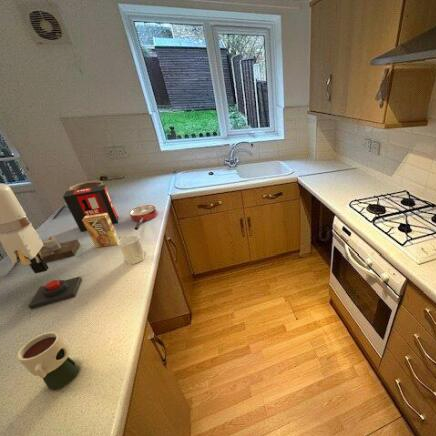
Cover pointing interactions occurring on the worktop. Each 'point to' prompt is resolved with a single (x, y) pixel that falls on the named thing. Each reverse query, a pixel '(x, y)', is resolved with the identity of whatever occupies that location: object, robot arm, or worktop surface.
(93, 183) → the cooking pot
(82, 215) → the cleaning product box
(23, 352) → the character mug
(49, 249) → the tap knob
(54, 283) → the button
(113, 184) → the worktop surface
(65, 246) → the base
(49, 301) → the button block
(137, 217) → the frying pan
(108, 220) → the candy box
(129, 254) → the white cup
